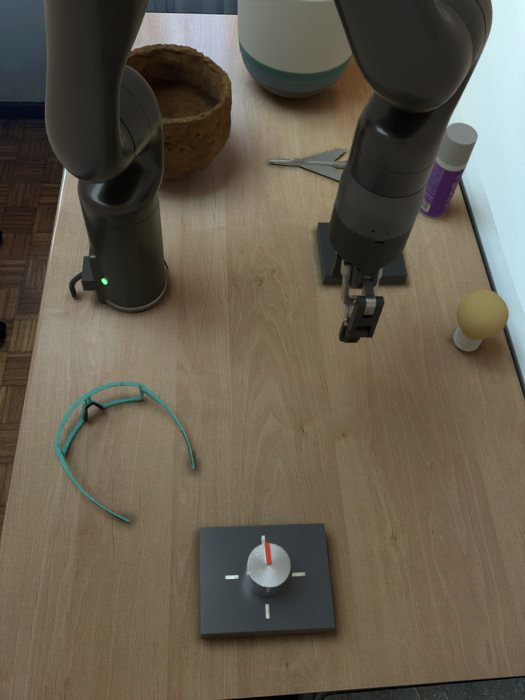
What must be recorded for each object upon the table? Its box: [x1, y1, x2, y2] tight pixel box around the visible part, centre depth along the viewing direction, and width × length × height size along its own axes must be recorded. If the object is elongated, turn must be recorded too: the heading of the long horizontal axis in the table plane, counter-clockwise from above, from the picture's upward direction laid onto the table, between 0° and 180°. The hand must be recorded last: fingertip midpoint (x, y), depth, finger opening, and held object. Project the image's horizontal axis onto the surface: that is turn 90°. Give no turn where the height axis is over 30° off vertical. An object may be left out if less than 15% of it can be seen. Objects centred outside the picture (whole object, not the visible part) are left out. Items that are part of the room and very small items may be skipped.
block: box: [315, 221, 408, 286], centre depth 97 cm, size 12×10×4 cm
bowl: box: [126, 43, 233, 180], centre depth 100 cm, size 19×19×15 cm
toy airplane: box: [268, 147, 348, 182], centre depth 108 cm, size 8×21×2 cm, turn 91°
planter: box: [237, 0, 353, 99], centre depth 110 cm, size 20×20×21 cm
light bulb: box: [452, 289, 510, 353], centre depth 88 cm, size 6×6×10 cm
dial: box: [245, 543, 291, 597], centre depth 69 cm, size 4×4×5 cm
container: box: [418, 122, 479, 220], centre depth 99 cm, size 5×5×15 cm
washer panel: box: [199, 522, 336, 639], centre depth 73 cm, size 14×11×3 cm
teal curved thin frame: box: [54, 381, 196, 523], centre depth 79 cm, size 14×15×5 cm
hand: (344, 306), depth 74 cm, fingers open, 8 cm apart
